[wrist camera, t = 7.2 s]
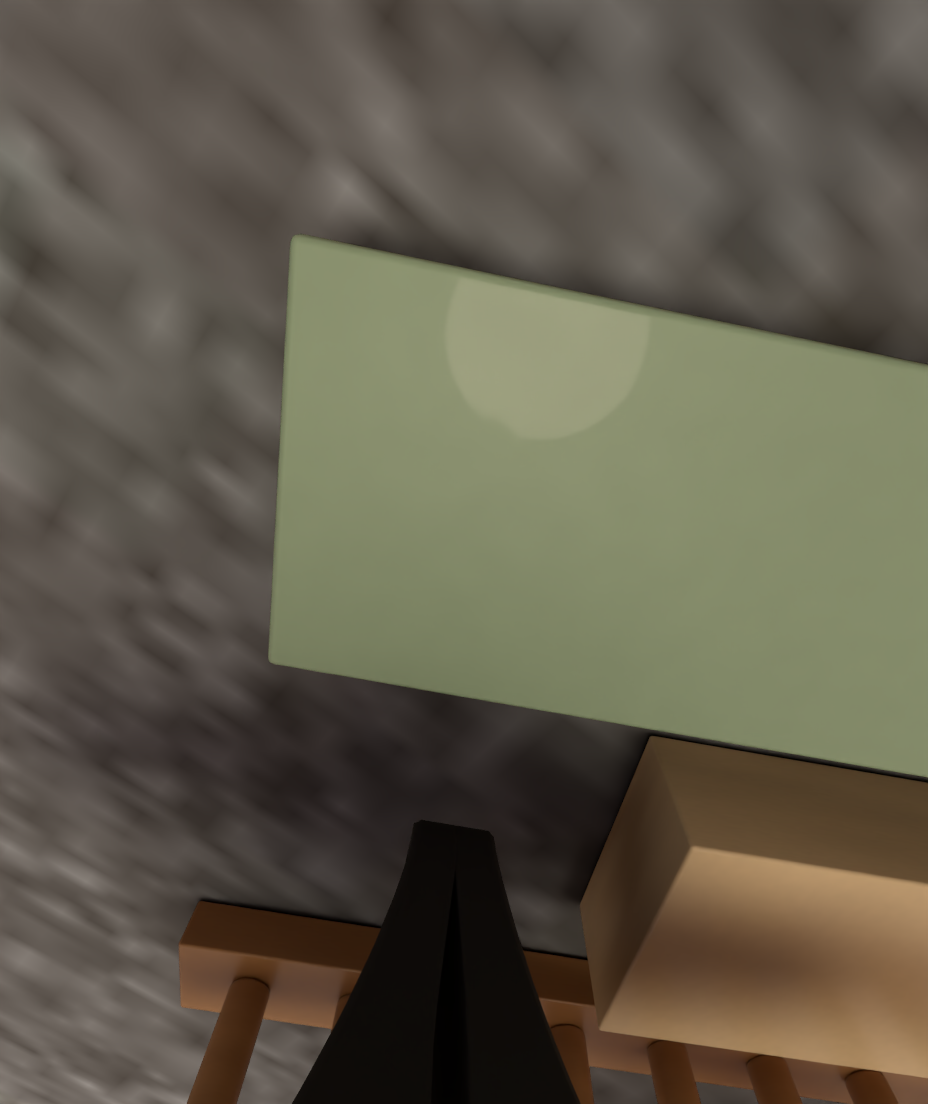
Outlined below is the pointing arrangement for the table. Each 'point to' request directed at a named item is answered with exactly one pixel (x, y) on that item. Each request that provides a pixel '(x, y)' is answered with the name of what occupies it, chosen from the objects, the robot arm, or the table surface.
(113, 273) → the table surface
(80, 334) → the table surface
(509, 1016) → the robot arm
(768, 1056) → the plate rack
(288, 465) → the sage board
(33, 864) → the table surface
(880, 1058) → the beech board
